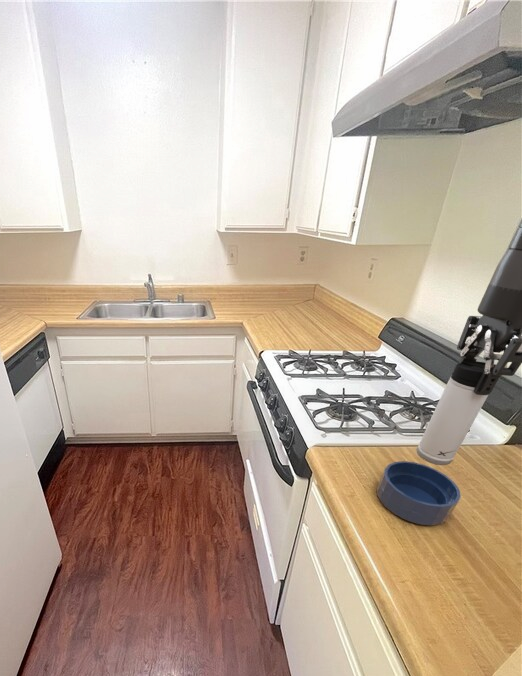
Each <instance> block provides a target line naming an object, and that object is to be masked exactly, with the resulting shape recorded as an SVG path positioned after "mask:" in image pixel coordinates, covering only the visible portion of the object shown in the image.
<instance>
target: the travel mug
mask: <svg viewBox="0 0 522 676" xmlns="http://www.w3.org/2000/svg"><path fill="white" fill-rule="evenodd" d="M485 364H486V361H485V362H484V361H478V360H476V361H464V362H461V363H459V362H458V363H456V365H455V367H454V369H453V372H452V373H451V375H450V377H449V378H448V381H447V383H446V385H445V387H444V389H443V392H442V394H441V396H440V398H439V400H438V402H437V405H436V407H435V408H434V411H433V413H432V416H431V418H430V420H429V422H428V424H427V426H426V427H425V428H426V429H425V430H424V433H423V435H422V437H421V439H420V441H419V443H418V446H417V448H416V454H417V456H418V457H419V458H421V459H422V460H423V461H425V462H427V463H429V464H431V465H436V466H448V465H450V464H451V463H452V462H453V460H454V458H455V456H456V455H457V453H458V451H459V449H460V448H461V445H462V444H463V443H464V440H465V438H466V437H467V435H468V432H469V431H470V429H471V427H472V426H473V424H474V422H475V420H476V418H477V416H478V415H479V413H480V412H481V409H482V407H483V406H484V404H485V402H486V400H487V398H488V397H489V395H477V394H475V393H474V389H475V387H476V385H477V383H478V381H479V379H480V377H481V375H482V373H483V372H484V369H485ZM495 366H496V364H494V366H493V367H495Z"/></svg>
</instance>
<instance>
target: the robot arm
mask: <svg viewBox="0 0 522 676" xmlns="http://www.w3.org/2000/svg"><path fill="white" fill-rule="evenodd" d="M477 313H478V314H480V315H469V316H468V317H467V319H466V321H465V324H464V327H463V330H462V332H461V334H460V338H459V341H458V343H457V345H456V349H457V351H460V353H459V354H460V357H461V358H460V359H459V362H458V364H459V363H461V362H464V361H478V360H477V358H478V357H479V356H480V355H481V354H483V355H482V357H483V359H484V361H485V363H486V364H485V369H484V372H483V373H482V375H481V377H480V379H479V381H478V383H477V385H476V387H475V389H474V393H475V394H477V395H488V396H489V395H490V394H491V393H492V392H493V390H494V388H495V386H496V384H497V382H498V381H499V379H500V377H502V376H506V377H507V376H508V377H512V376H514V375H515V374H516V372H517V371H518V369H519V368H520V367H521V365H522V217H521V218H520V220H519V222H518V224H517V226H516V229H515V231H514V233H513V235H512V236H511V240H510V241H509V244H508V245H507V248H506V250H505V252H504V254H503V255H502V257H501V258H500V260H499V261H498V263H497V266H496V267H495V269H494V272H493V274H492V276H491V278H490V280H489V282H488V285H487V287H486V290H485V292H484V294H483V296H482V298H481V300H480V302H479V305H478V307H477ZM502 352H503V353H502ZM500 353H501V354H500ZM495 361H497V363H496V364H495ZM508 363H510V365H509V366H508ZM494 365H496V366H495V367H493V366H494Z"/></svg>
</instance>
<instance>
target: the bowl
mask: <svg viewBox="0 0 522 676" xmlns="http://www.w3.org/2000/svg"><path fill="white" fill-rule="evenodd" d="M376 495H377V497H378V499H379V501H380V502H381V504H382V505H383V506H384V507H385V509H387V510H388V511H390V512H391V513H392V514H394V515H395V516H397V517H399V518H401V519H403V520H405V521H407V522H411V523H414V524H416V525H423V526H438V525H442V524H443V523H445V522H447V521H448V520H449V518H450V516H451V515H452V513H453V511H454V510H455V508H456V506H457V505H458V503H459V501H460V499H461V497H462V495H461V490H460V488H459V487H458V485H457V484H456V482H455V481H453V480H452V478H449V476H448V475H446V474H445V473H443V472H441V471H439V470H437V469H435V468H434V467H431V466H428V465H426V464H422V463H419V462H415V461H408V460H401V461H400V460H399V461H394V462H392V463H388V464H387V466H386V467H385V468H384V470H383V471H382V475H381V476H380V479H379V482H378V484H377V487H376Z"/></svg>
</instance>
